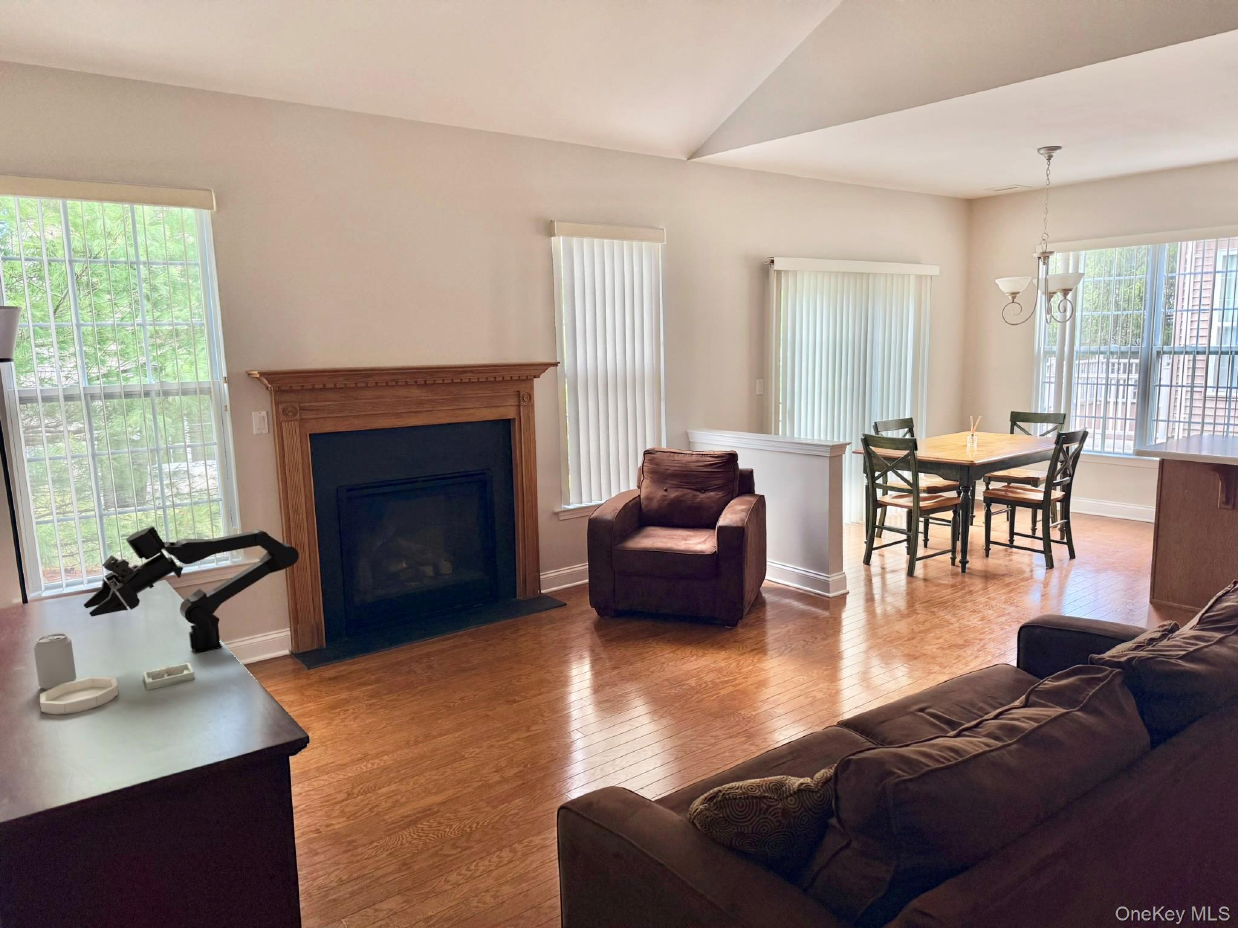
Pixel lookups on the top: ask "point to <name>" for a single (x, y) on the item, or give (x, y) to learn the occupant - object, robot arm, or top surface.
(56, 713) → the bowl
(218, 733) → the top surface
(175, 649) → the top surface
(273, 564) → the robot arm
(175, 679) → the pebble tray
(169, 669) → the pebbles
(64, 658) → the can
